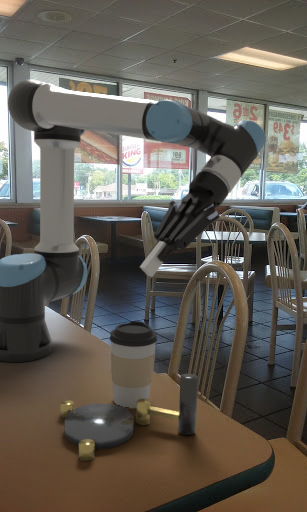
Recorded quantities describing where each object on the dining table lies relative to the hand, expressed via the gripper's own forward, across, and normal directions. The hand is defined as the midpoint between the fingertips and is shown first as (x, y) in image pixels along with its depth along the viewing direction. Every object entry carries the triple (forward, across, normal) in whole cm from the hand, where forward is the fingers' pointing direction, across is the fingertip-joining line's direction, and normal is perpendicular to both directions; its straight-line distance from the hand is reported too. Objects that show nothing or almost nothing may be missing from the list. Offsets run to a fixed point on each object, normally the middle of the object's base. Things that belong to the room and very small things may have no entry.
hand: (145, 271), depth 89 cm
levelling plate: (+27, +6, +8) cm, 29 cm away
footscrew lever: (+20, +12, +15) cm, 28 cm away
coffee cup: (+20, 0, +16) cm, 26 cm away
